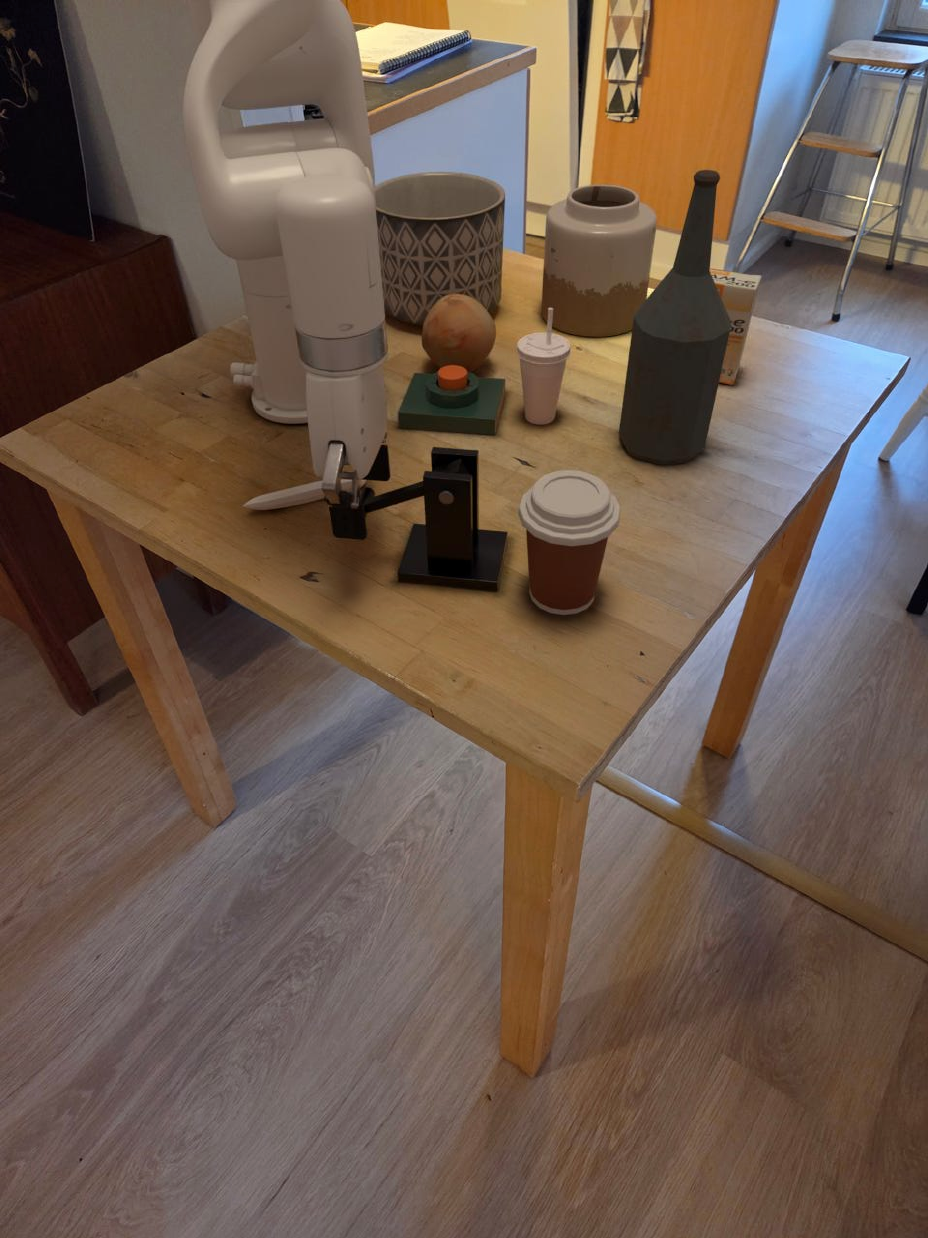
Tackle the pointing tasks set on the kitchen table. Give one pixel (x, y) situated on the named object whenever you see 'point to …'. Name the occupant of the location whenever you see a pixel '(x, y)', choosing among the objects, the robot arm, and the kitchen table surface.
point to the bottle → (678, 346)
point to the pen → (294, 496)
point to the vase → (597, 260)
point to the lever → (404, 490)
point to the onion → (458, 332)
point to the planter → (439, 241)
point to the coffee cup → (567, 538)
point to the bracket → (453, 531)
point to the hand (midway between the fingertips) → (363, 506)
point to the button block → (452, 405)
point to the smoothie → (542, 372)
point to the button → (452, 378)
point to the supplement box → (736, 315)
